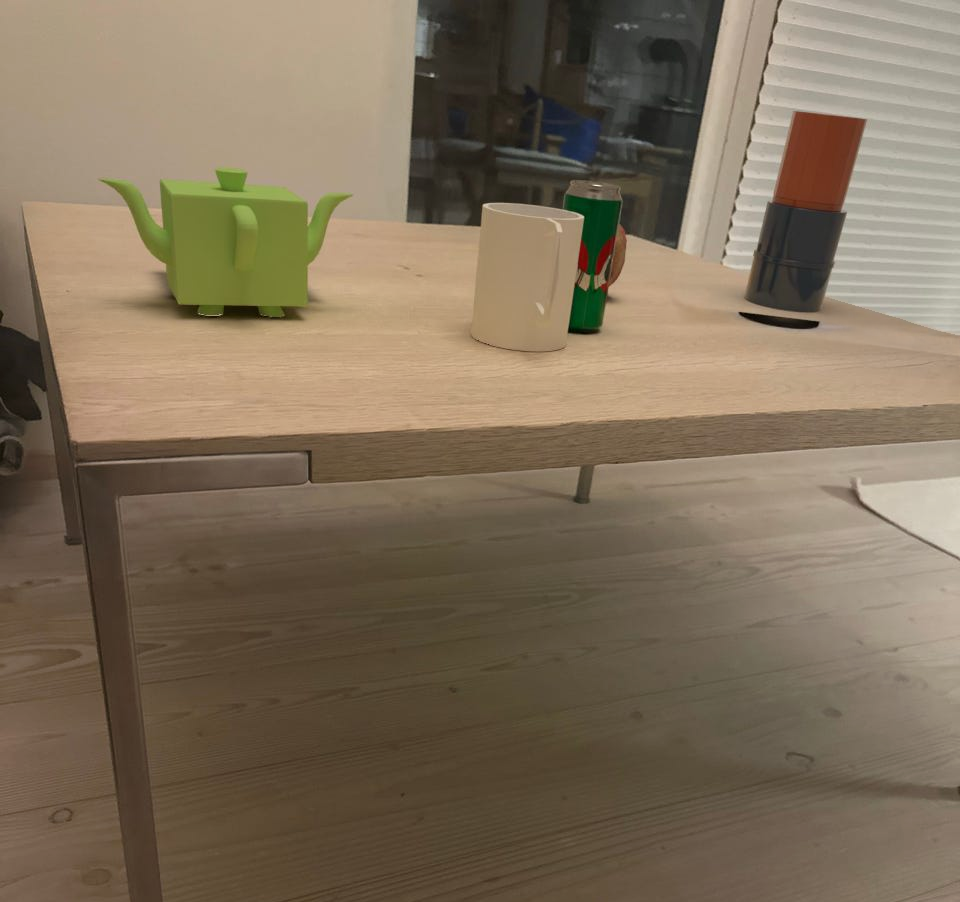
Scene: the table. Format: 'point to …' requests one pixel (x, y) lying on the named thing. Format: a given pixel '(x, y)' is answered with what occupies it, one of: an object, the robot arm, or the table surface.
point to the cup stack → (793, 263)
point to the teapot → (232, 240)
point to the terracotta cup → (818, 161)
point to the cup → (525, 276)
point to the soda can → (593, 250)
